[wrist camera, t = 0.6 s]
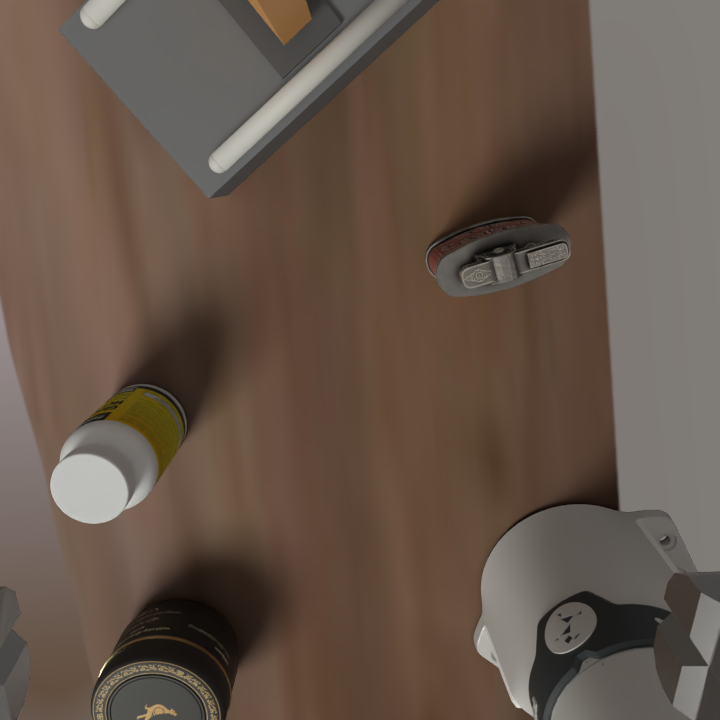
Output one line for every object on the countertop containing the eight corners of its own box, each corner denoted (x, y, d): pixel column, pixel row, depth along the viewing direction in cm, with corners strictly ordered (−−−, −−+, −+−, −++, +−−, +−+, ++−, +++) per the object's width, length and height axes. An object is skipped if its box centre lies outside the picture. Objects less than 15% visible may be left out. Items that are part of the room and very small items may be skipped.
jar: (98, 630, 55) (57, 701, 47) (192, 569, 53) (165, 633, 46) (175, 710, 57) (148, 790, 50) (267, 654, 55) (253, 728, 48)
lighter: (431, 287, 47) (450, 317, 37) (418, 240, 46) (434, 259, 36) (542, 253, 46) (591, 274, 36) (531, 205, 45) (578, 215, 35)
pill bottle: (135, 365, 48) (72, 419, 38) (205, 414, 49) (162, 481, 39) (90, 426, 50) (16, 496, 39) (158, 473, 51) (105, 553, 40)
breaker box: (458, -18, 41) (478, -56, 34) (228, 195, 45) (204, 199, 38) (333, -192, 39) (327, -271, 32) (99, 49, 42) (48, 25, 35)
